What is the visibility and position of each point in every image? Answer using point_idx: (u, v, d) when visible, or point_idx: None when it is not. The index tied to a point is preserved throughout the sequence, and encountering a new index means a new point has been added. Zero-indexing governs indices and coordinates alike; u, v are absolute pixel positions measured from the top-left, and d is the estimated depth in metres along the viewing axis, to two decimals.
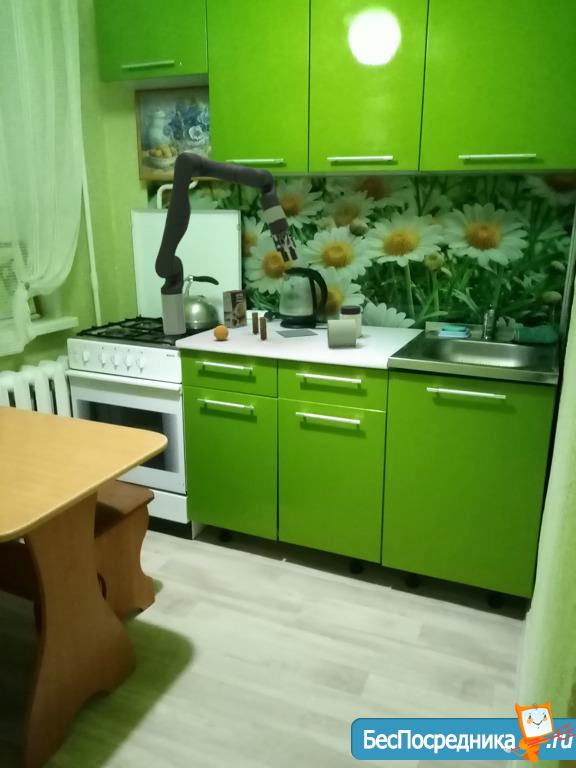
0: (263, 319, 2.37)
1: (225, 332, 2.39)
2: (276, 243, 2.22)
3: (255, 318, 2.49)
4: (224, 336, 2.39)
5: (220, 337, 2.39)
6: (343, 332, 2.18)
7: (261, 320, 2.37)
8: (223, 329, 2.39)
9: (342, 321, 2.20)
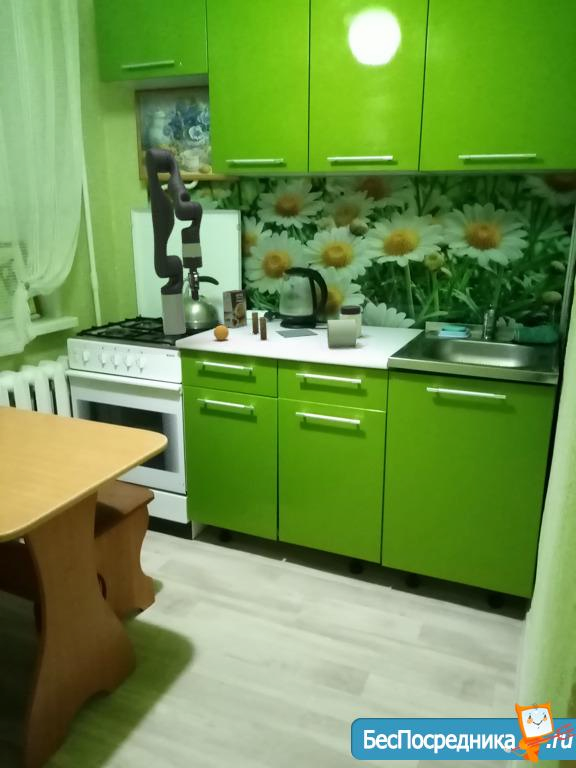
0: (263, 319, 2.37)
1: (225, 332, 2.39)
2: (195, 283, 2.27)
3: (255, 318, 2.49)
4: (224, 336, 2.39)
5: (220, 337, 2.39)
6: (343, 332, 2.18)
7: (261, 320, 2.37)
8: (223, 329, 2.39)
9: (342, 321, 2.20)
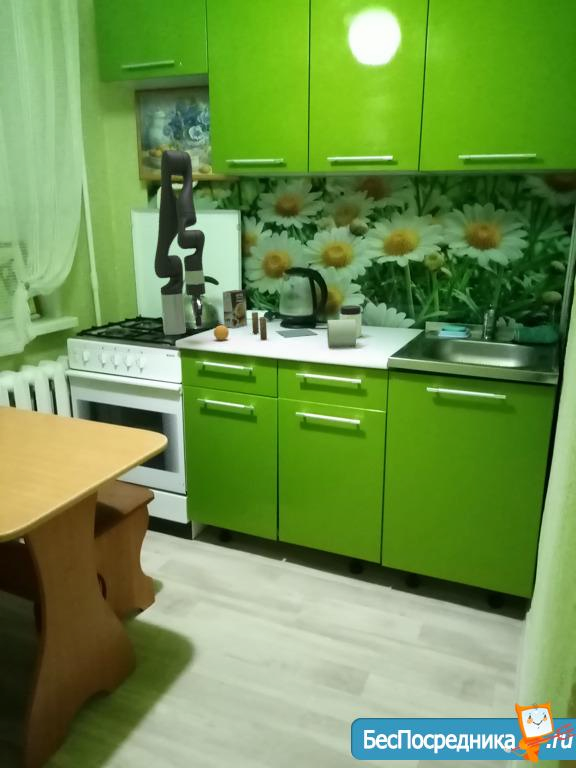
0: (263, 319, 2.37)
1: (225, 332, 2.39)
2: (198, 311, 2.31)
3: (255, 318, 2.49)
4: (224, 336, 2.39)
5: (220, 337, 2.39)
6: (343, 332, 2.18)
7: (261, 320, 2.37)
8: (223, 329, 2.39)
9: (342, 321, 2.20)
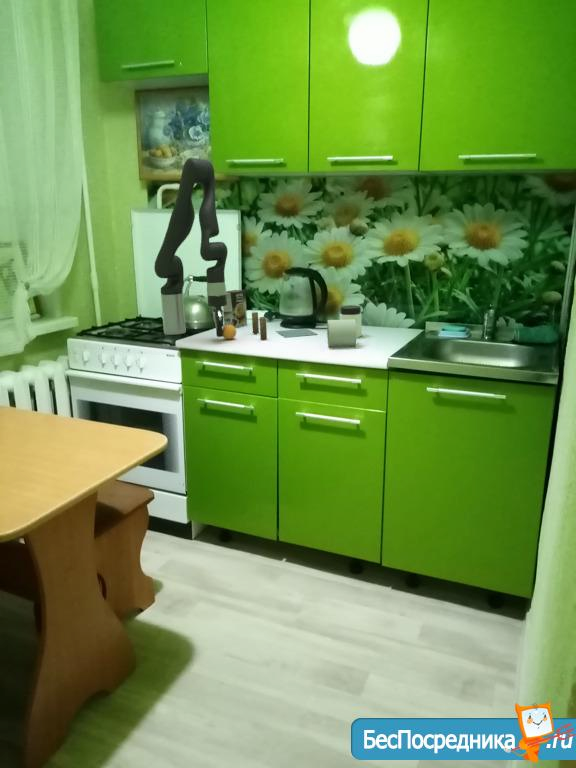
0: (263, 319, 2.37)
1: (233, 334, 2.40)
2: (219, 322, 2.34)
3: (255, 318, 2.49)
4: (230, 336, 2.40)
5: (226, 334, 2.39)
6: (343, 332, 2.18)
7: (261, 320, 2.37)
8: (233, 330, 2.40)
9: (342, 321, 2.20)
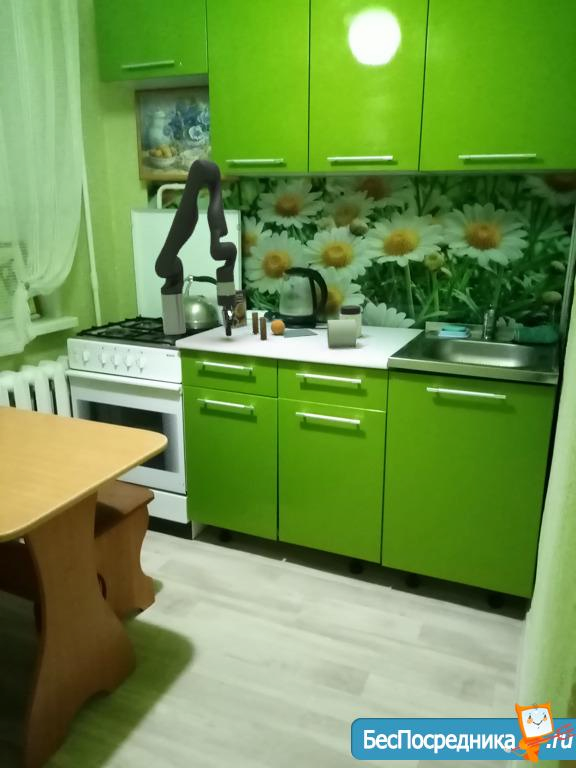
0: (263, 319, 2.37)
1: (281, 330, 2.47)
2: (229, 321, 2.36)
3: (255, 318, 2.49)
4: (277, 330, 2.46)
5: (276, 326, 2.46)
6: (343, 332, 2.18)
7: (261, 320, 2.37)
8: (283, 328, 2.47)
9: (342, 321, 2.20)
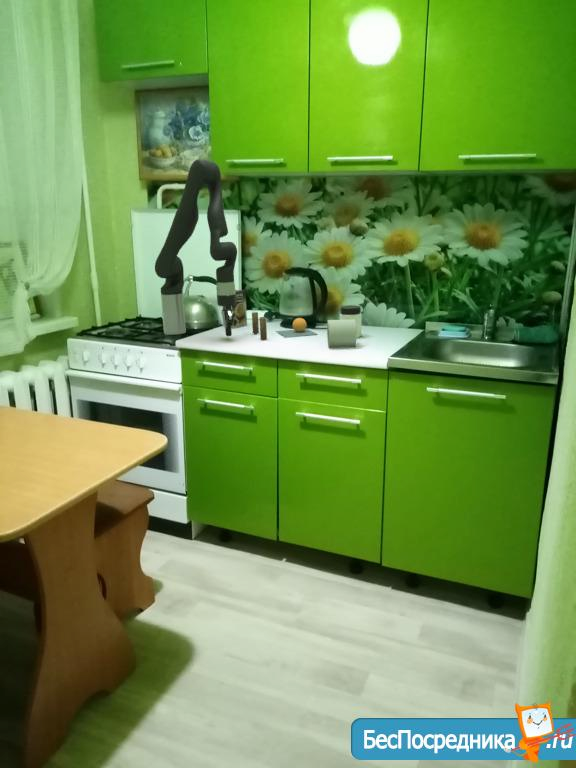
0: (263, 319, 2.37)
1: (300, 323, 2.49)
2: (229, 321, 2.36)
3: (255, 318, 2.49)
4: (304, 324, 2.50)
5: (304, 327, 2.50)
6: (343, 332, 2.18)
7: (261, 320, 2.37)
8: (297, 325, 2.49)
9: (342, 321, 2.20)
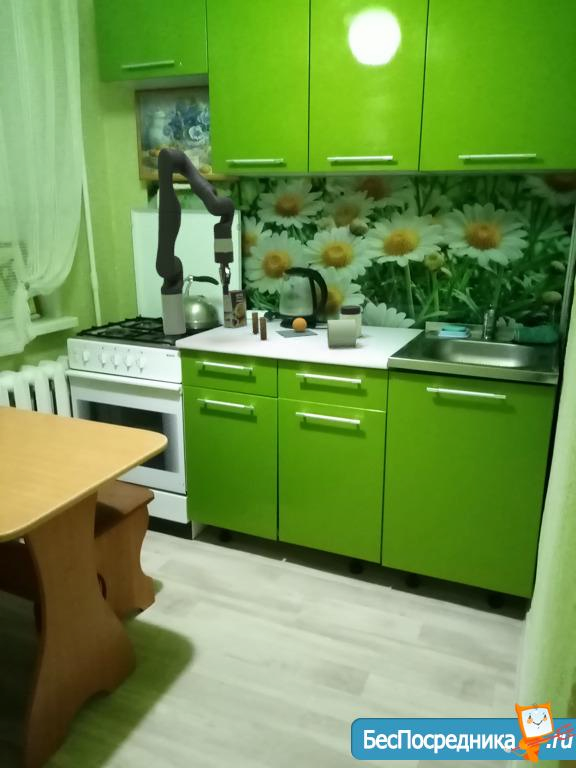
0: (263, 319, 2.37)
1: (301, 323, 2.49)
2: (226, 279, 2.31)
3: (255, 318, 2.49)
4: (304, 324, 2.50)
5: (304, 327, 2.50)
6: (343, 332, 2.18)
7: (261, 320, 2.37)
8: (298, 325, 2.49)
9: (342, 321, 2.20)
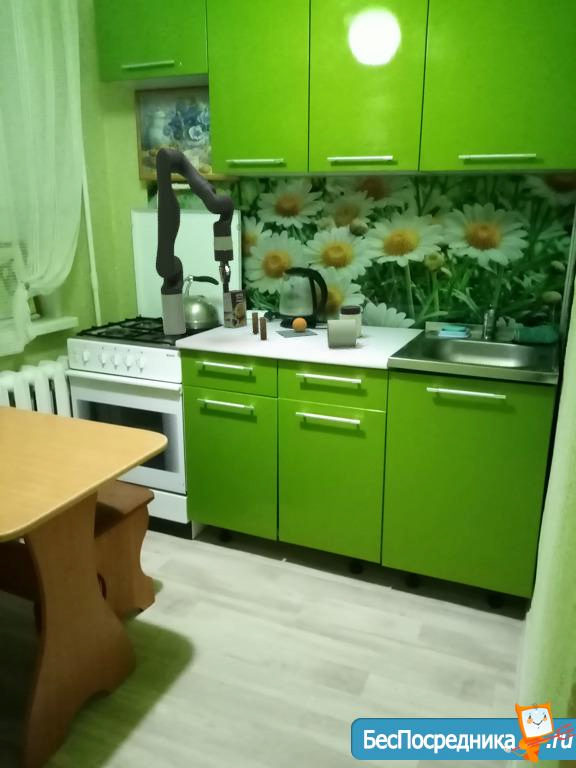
0: (263, 319, 2.37)
1: (301, 323, 2.49)
2: (226, 277, 2.31)
3: (255, 318, 2.49)
4: (304, 324, 2.50)
5: (304, 327, 2.50)
6: (343, 332, 2.18)
7: (261, 320, 2.37)
8: (298, 325, 2.49)
9: (342, 321, 2.20)
